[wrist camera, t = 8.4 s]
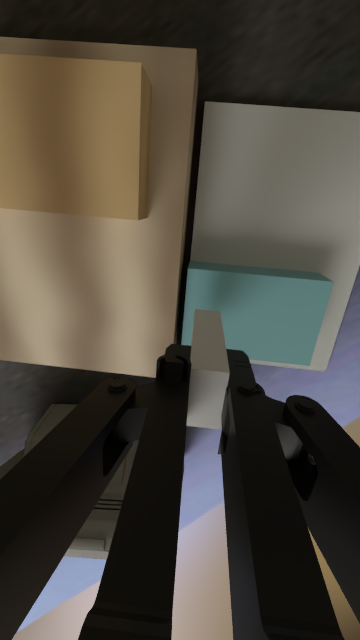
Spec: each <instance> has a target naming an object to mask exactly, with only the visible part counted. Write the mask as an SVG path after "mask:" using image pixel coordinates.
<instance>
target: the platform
mask: <svg viewBox="0 0 360 640" xmlns="http://www.w3.org/2000/svg"><path fill="white" fill-rule="evenodd" d="M0 54H15V55H30V56H46V57H61V58H77V59H92V60H108V61H123V62H139V63H142V65H143V67H144V70H145V72H146V74H147V76H148V78H149V81H150V83H151V85H152V104H151V133H150V163H149V192H148V218H146V219H142V220H127V219H116V218H105V217H93V216H82V215H71V214H60V213H49V212H38V211H26V210H15V209H4V208H0V360H5V361H14V362H22V363H31V364H40V365H49V366H57V367H66V368H75V369H84V370H92V371H101V372H110V373H119V374H127V375H136V376H145V377H154V378H156V365H157V359H158V358H159V357H160V356H162V355H165V351H166V348H167V347H168V346H169V345H171V344H177V333H178V321H179V309H180V297H181V285H182V273H183V261H184V250H185V238H186V226H187V214H188V202H189V190H190V178H191V166H192V154H193V142H194V130H195V119H196V107H197V95H198V65H197V49H190V48H174V47H158V46H141V45H125V44H109V43H93V42H77V41H61V40H44V39H28V38H12V37H0Z"/></svg>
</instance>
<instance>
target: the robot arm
mask: <svg viewBox="0 0 360 640" xmlns="http://www.w3.org/2000/svg"><path fill="white" fill-rule="evenodd" d="M221 421H222V433H221V438H220V444H219V450H218V454H221V457H222V472H223V487H224V503H225V518H226V531H227V532H226V533H227V547H228V562H229V563H228V564H229V579H230V592H231V593H230V594H231V609H232V623H233V624H232V625H233V640H344V638H343V636H342V633H341V631H340V628H339V625H338V622H337V619H336V616H335V613H334V610H333V607H332V604H331V600H330V597H329V594H328V591H327V588H326V584H325V581H324V578H323V575H322V572H321V568H320V565H319V562H318V559H317V556H316V553H315V550H314V546H313V543H312V540H311V537H310V534H309V531H308V528H309V530H310V532H311V534H312V536H313V538H314V540H315V541H316V543H317V545H318V547H319V549H320V551H321V552H322V554H323V556H324V558H325V560H326V562H327V564H328V566H329V567H330V569H331V571H332V573H333V575H334V577H335V579H336V580H337V582H338V584H339V586H340V588H341V590H342V592H343V593H344V595H345V597H346V599H347V601H348V603H349V604H350V606H351V608H352V610H353V612H354V614H355V616H356V617H357V619H358V621H359V623H360V447H359V446H358V445H357V444H356V443H355V442H354V440H353V439H352V438H351V437H350V436H349V435H348V434H347V433H346V432H345V431H344V430H343V429H342V427H341V426H340V425H339V424H338V423H337V422H336V421H335V420H334V419H333V418H332V417H331V415H330V414H329V413H328V412H327V411H326V410H325V409H324V408H323V407H322V406H321V405H320V404H319V403H318V402H316V401H315V400H313V399H311V398H309V397H305V396H300V395H293V396H290V397H288V398H287V399H286V403H284V402H281V401H277V400H274V399H272V398H269V397H268V396H266V395H265V392H264V390H263V388H262V387H261V386H260V385H259V384H257V383H256V381H255V378H254V374H253V371H252V368H251V364H250V361H249V357H248V355H247V354H246V353H245V352H244V351H242V350H233V349H226V345H225V338H224V332H223V325H222V319H221V312H220V311H211V310H201V309H195V313H194V322H193V332H192V341H191V346H189V345H179V344H171V345H169V346H168V347H167V348H166V351H165V355H162V356H160V357H159V358H158V359H157V365H156V380H155V381H154V382H152V383H150V384H147V385H142V386H135V382H133V381H132V380H131V379H130V378H127V377H123V376H114V377H110V378H107V379H105V380H104V381H102V382H101V383H100V384H99V385H98V386H97V387H96V388H95V389H94V390H93V391H92V392H90V393H89V394H88V395H87V396H86V397H85V398H84V399H83V400H82V401H81V402H80V403H79V404H78V405H77V406H76V407H75V408H74V409H73V410H72V411H71V412H70V413H69V414H68V415H67V416H66V417H65V418H64V419H62V420H61V421H60V422H59V423H58V424H57V425H56V426H55V427H54V428H53V429H52V430H51V431H50V432H49V433H48V434H47V435H46V436H45V437H44V438H43V439H42V440H41V441H40V442H39V443H38V444H37V445H36V446H34V447H33V448H32V449H31V450H30V451H29V452H28V453H27V454H26V455H25V456H24V457H23V458H22V459H21V460H20V461H19V462H18V463H17V464H16V465H15V466H14V467H13V468H12V469H11V470H10V471H9V472H8V473H6V474H5V475H4V476H3V477H2V478H1V479H0V640H12V638H13V636H14V635H15V633H16V632H17V630H18V629H19V627H20V625H21V624H22V622H23V621H24V619H25V617H26V616H27V614H28V613H29V611H30V609H31V608H32V606H33V605H34V603H35V601H36V600H37V598H38V597H39V595H40V593H41V592H42V590H43V588H44V587H45V585H46V584H47V582H48V580H49V579H50V577H51V576H52V574H53V572H54V571H55V569H56V568H57V566H58V564H59V563H60V561H61V560H62V558H63V556H64V555H65V553H66V552H67V550H68V548H69V547H70V545H71V544H72V542H73V540H74V539H75V537H76V536H77V534H78V532H79V531H80V529H81V528H82V526H83V524H84V523H85V521H86V520H87V518H88V516H89V515H90V513H91V512H92V510H93V508H94V507H95V505H96V504H97V502H98V500H99V499H100V497H101V496H102V494H103V492H104V491H105V489H106V488H107V486H108V484H109V483H110V481H111V480H112V478H113V476H114V475H115V473H116V471H117V470H118V468H119V467H120V465H121V463H122V462H123V460H124V459H125V457H126V455H127V454H128V452H129V451H130V449H131V447H132V446H133V443H134V441H137V440H139V442H138V446H137V450H136V453H135V457H134V461H133V465H132V468H131V472H130V476H129V479H128V483H127V487H126V490H125V494H124V498H123V501H122V505H121V509H120V512H119V516H118V520H117V524H116V527H115V531H114V535H113V538H112V542H111V546H110V549H109V553H108V557H107V560H106V564H105V568H104V571H103V575H102V579H101V583H100V586H99V590H98V594H97V597H96V600H95V603H94V605H93V607H92V609H91V610H90V611H89V612H88V614H87V616H86V618H85V621H84V623H83V626H82V629H81V632H80V635H79V638H78V640H171V633H172V608H173V595H174V582H175V568H176V555H177V542H178V529H179V516H180V503H181V490H182V477H183V463H184V450H185V437H186V426H193V427H202V428H210V429H218V430H220V427H221ZM311 456H312V457H311ZM313 459H314V460H313Z"/></svg>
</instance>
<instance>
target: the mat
mask: <svg viewBox="0 0 360 640" xmlns="http://www.w3.org/2000/svg"><path fill="white" fill-rule="evenodd" d="M190 261H195V262H206V263H217V264H228V265H239V266H250V267H261V268H272V269H283V270H294V271H305V272H316V273H320V274H322V275H323V276H325V277H327V278H328V279H330V280H332V281H333V282H334V283H333V287H332V290H331V294H330V297H329V301H328V304H327V308H326V311H325V314H324V318H323V321H322V325H321V328H320V332H319V335H318V339H317V342H316V346H315V349H314V353H313V356H312V359H311V363H310V366H305V365H295V364H286V363H277V362H267V361H258V360H249V361H250V363H253V364H262V365H271V366H280V367H289V368H298V369H307V370H316V371H326V368H327V365H328V362H329V359H330V356H331V353H332V350H333V347H334V344H335V340H336V337H337V334H338V331H339V328H340V325H341V322H342V319H343V316H344V312H345V309H346V306H347V303H348V300H349V297H350V294H351V291H352V288H353V284H354V281H355V278H356V275H357V272H358V269H359V266H360V112H350V111H335V110H321V109H307V108H292V107H278V106H264V105H250V104H235V103H221V102H207V101H205V107H204V118H203V129H202V140H201V150H200V161H199V172H198V183H197V193H196V204H195V215H194V226H193V237H192V247H191V258H190Z"/></svg>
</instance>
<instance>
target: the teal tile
mask: <svg viewBox="0 0 360 640" xmlns="http://www.w3.org/2000/svg"><path fill="white" fill-rule="evenodd" d="M333 283H334V282H333V281H332V280H330V279H328V278H327V277H325V276H323V275H322V274H320V273H316V272H305V271H294V270H283V269H272V268H261V267H250V266H239V265H228V264H217V263H206V262H195V261H190V262H189V266H188V273H187V284H186V296H185V307H184V319H183V330H182V342H181V345H189V346H191V341H192V332H193V322H194V313H195V309H201V310H211V311H220V312H221V319H222V325H223V332H224V338H225V345H226V349H233V350H242V351H244V352H245V353H246V354H247V355H248V357H249V360H258V361H267V362H277V363H286V364H295V365H305V366H310V363H311V359H312V356H313V353H314V349H315V346H316V342H317V339H318V335H319V332H320V328H321V325H322V321H323V318H324V314H325V311H326V308H327V304H328V301H329V297H330V294H331V290H332V287H333Z"/></svg>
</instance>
